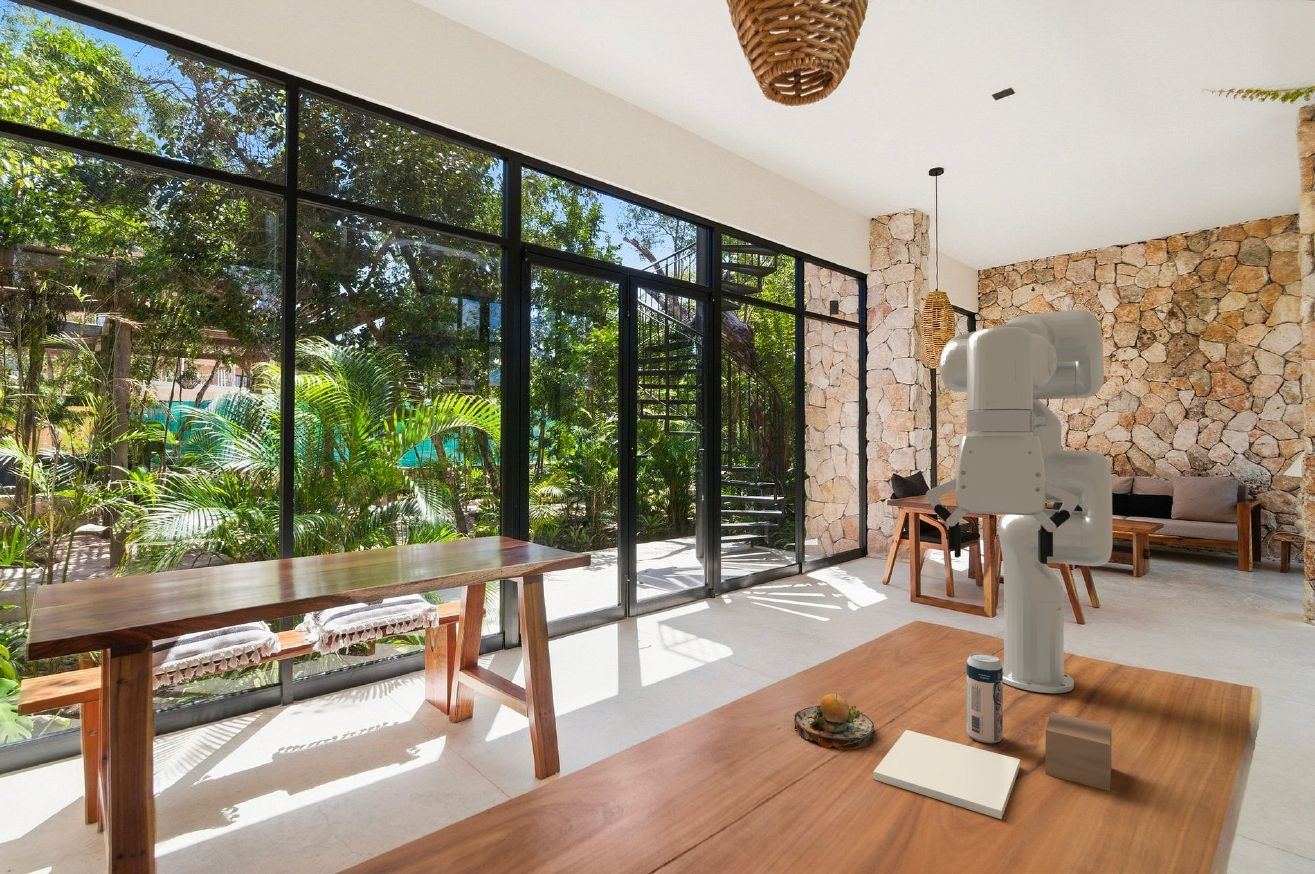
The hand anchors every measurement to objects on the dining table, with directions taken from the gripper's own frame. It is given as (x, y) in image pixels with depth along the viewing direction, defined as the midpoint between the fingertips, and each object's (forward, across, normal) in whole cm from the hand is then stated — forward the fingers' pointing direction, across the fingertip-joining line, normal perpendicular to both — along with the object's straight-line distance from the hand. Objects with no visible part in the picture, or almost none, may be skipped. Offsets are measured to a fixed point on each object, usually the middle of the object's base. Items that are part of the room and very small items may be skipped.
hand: (999, 559), depth 83 cm
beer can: (+29, +1, -15) cm, 33 cm away
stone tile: (+29, +6, -1) cm, 30 cm away
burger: (+30, +22, -7) cm, 38 cm away
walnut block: (+29, -10, -10) cm, 32 cm away
